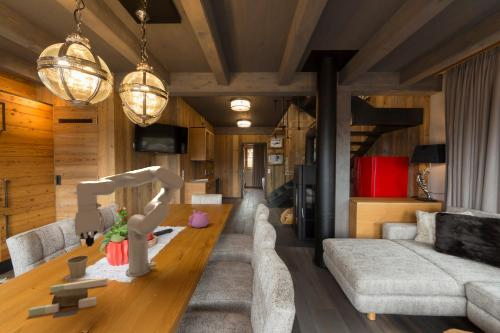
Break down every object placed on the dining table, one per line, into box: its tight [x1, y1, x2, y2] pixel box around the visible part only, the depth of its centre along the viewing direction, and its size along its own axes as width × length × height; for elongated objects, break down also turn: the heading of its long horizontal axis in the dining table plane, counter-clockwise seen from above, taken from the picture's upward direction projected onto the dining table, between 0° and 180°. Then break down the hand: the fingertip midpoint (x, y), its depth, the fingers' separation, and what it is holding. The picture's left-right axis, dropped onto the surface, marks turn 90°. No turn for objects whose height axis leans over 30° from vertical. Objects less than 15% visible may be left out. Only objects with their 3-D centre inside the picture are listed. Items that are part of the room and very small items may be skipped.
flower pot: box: [65, 254, 90, 278], centre depth 118 cm, size 9×9×9 cm
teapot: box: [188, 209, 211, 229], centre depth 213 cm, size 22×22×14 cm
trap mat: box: [52, 307, 81, 319], centre depth 88 cm, size 8×4×1 cm, turn 110°
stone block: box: [51, 288, 89, 308], centre depth 94 cm, size 6×12×5 cm, turn 109°
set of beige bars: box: [28, 277, 108, 318], centre depth 98 cm, size 22×18×3 cm
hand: (90, 245), depth 105 cm, fingers closed
